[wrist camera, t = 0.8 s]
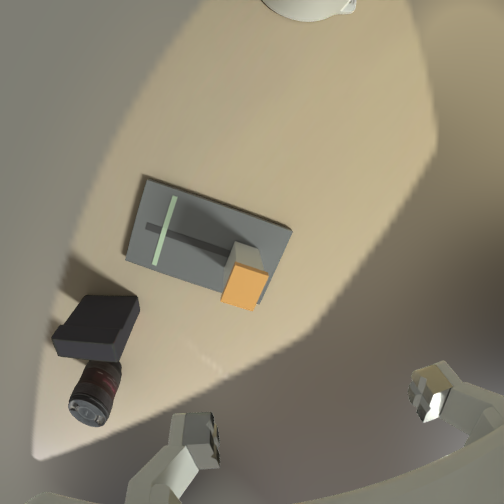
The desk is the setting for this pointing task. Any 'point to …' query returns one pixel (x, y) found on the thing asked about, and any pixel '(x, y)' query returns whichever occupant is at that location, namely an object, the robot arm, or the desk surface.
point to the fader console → (198, 236)
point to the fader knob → (243, 277)
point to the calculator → (97, 328)
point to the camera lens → (95, 392)
